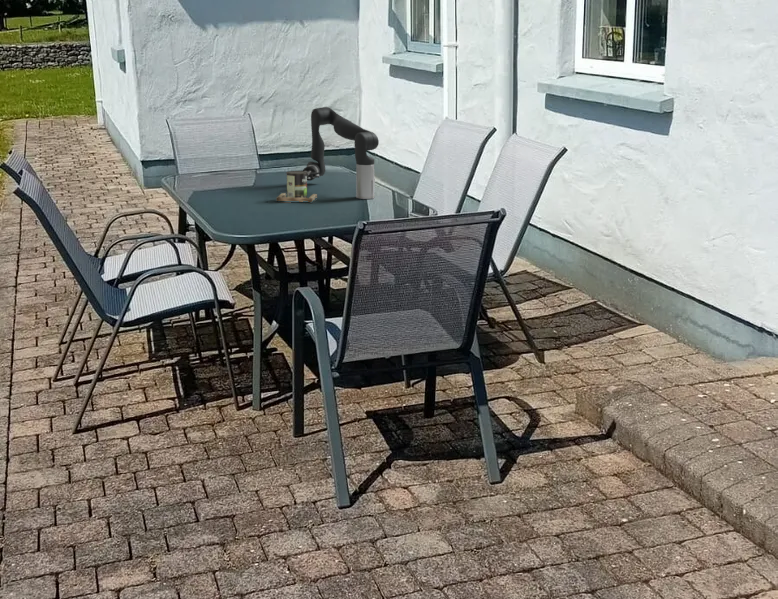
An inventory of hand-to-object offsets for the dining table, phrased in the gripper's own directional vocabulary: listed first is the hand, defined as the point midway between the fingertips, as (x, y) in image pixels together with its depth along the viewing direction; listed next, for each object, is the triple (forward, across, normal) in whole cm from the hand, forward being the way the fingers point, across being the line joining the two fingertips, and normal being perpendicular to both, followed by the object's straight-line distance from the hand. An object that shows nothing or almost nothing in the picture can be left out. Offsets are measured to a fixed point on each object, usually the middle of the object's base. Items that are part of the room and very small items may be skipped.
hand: (304, 177), depth 510 cm
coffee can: (+18, -1, +9) cm, 21 cm away
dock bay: (+18, -1, +9) cm, 20 cm away
